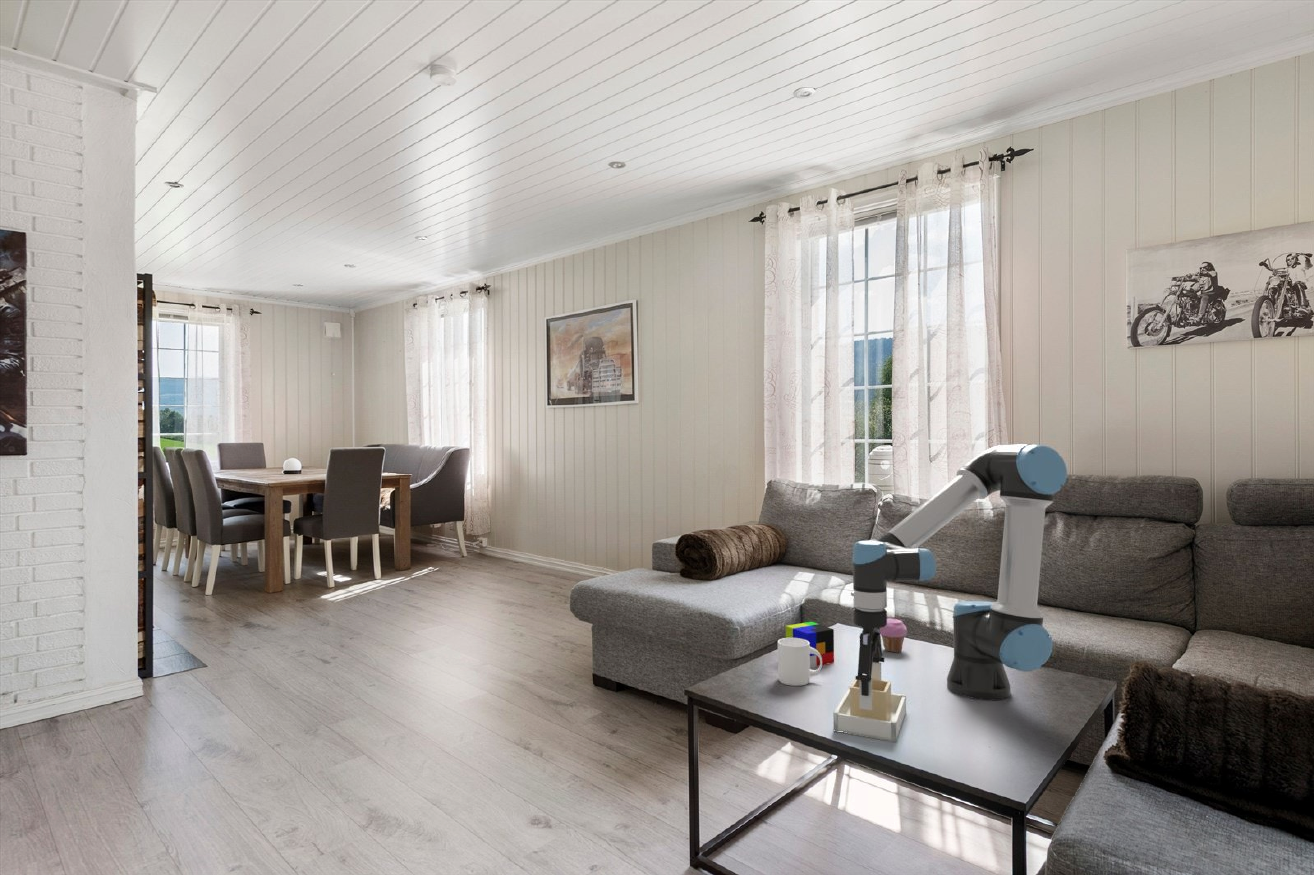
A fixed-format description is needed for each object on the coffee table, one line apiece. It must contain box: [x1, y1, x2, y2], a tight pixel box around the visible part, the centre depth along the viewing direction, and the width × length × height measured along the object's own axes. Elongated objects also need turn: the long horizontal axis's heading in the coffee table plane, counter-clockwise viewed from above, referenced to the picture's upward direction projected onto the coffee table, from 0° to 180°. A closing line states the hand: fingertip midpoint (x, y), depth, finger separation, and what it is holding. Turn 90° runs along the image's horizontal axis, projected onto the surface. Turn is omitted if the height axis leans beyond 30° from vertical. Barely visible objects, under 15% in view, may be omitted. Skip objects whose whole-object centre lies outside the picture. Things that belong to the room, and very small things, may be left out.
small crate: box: [850, 678, 892, 721], centre depth 161 cm, size 8×8×8 cm
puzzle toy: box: [785, 621, 835, 668], centre depth 206 cm, size 10×10×10 cm
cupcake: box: [880, 618, 908, 653], centre depth 216 cm, size 9×9×10 cm
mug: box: [777, 637, 823, 687], centre depth 189 cm, size 9×12×11 cm
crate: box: [833, 685, 907, 743], centre depth 161 cm, size 13×19×4 cm
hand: (870, 699), depth 161 cm, fingers open, 13 cm apart
